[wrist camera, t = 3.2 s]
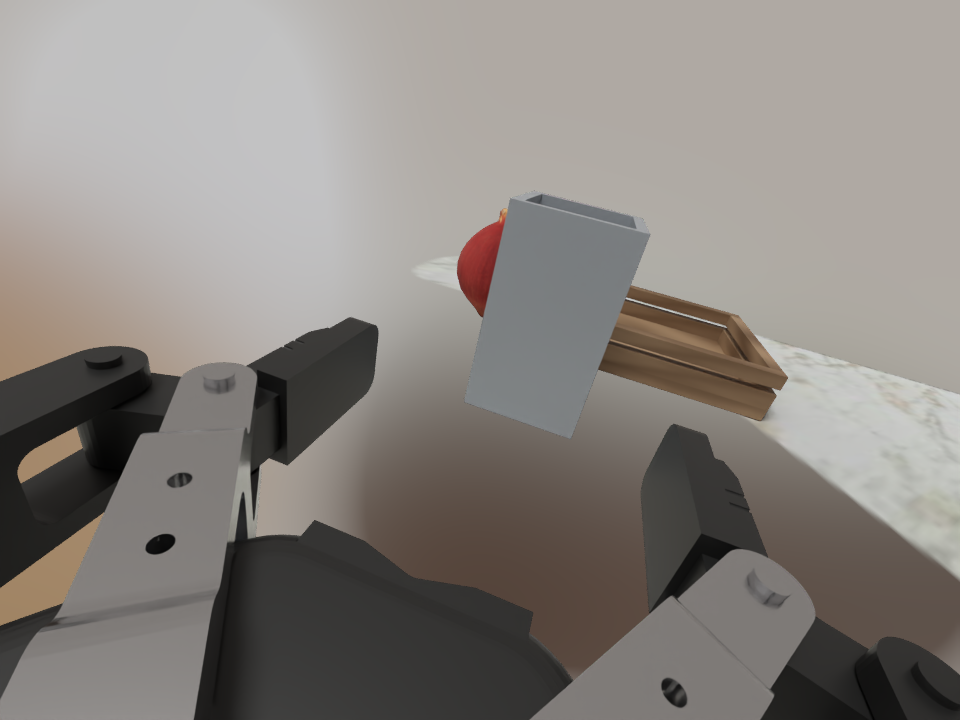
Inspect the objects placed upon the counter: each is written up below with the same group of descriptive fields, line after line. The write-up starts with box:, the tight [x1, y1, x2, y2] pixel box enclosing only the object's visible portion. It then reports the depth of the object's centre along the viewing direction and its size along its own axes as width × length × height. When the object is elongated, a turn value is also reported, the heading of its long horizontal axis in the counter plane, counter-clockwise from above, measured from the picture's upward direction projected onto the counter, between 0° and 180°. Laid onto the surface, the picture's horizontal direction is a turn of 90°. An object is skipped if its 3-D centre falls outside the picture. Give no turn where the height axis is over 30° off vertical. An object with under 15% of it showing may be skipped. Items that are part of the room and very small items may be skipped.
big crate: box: [598, 286, 788, 421], centre depth 32 cm, size 12×12×3 cm
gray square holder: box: [464, 191, 650, 439], centre depth 21 cm, size 6×6×10 cm
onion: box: [457, 208, 508, 317], centre depth 30 cm, size 6×6×8 cm
